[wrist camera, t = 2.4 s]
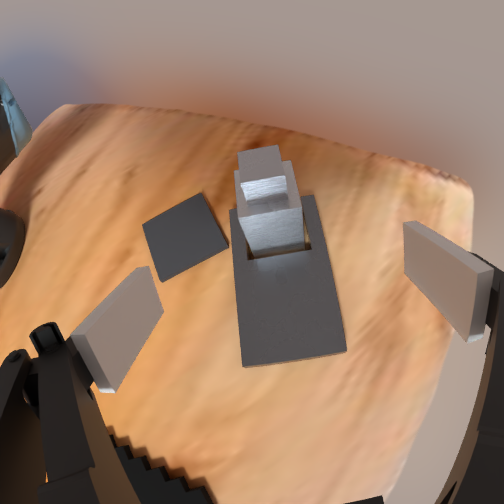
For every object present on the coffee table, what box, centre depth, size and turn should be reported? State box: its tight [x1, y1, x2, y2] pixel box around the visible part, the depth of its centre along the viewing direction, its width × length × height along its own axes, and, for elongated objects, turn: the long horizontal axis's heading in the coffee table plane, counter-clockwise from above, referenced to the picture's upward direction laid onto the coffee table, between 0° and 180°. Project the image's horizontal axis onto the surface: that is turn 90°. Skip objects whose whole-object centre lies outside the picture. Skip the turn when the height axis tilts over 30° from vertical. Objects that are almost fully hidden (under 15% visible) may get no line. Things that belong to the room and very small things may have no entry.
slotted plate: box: [229, 195, 347, 368], centre depth 29 cm, size 16×9×1 cm, turn 6°
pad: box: [142, 193, 229, 282], centre depth 34 cm, size 8×8×1 cm
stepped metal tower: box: [234, 145, 305, 259], centre depth 27 cm, size 5×5×11 cm
